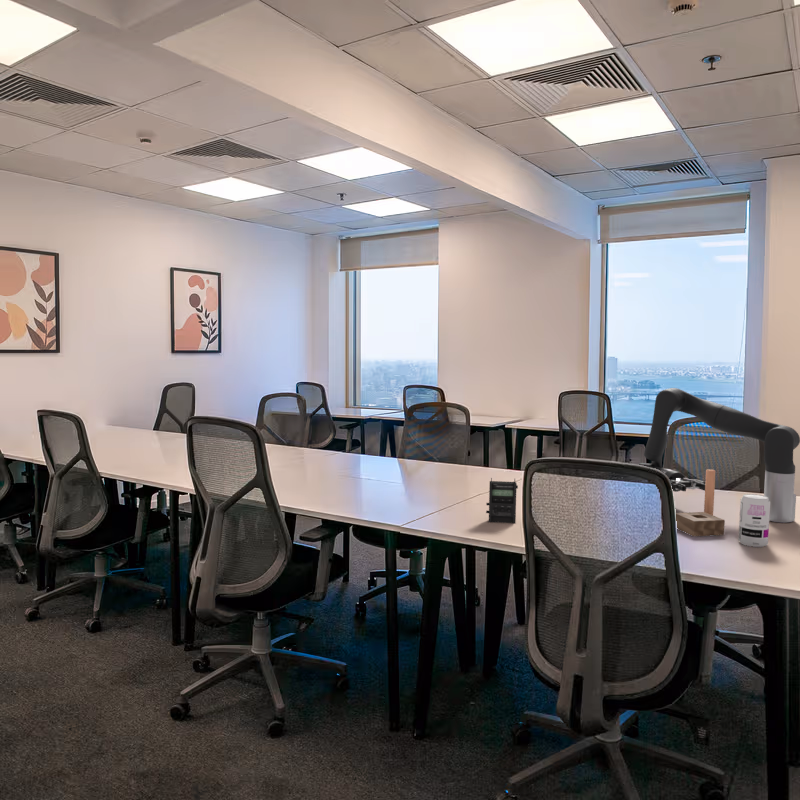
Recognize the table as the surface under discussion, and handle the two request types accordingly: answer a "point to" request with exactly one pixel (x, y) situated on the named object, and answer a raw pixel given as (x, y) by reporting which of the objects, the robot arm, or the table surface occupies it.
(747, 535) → the supplement can
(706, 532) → the socket block
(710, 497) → the peg
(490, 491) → the geiger counter
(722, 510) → the table surface
